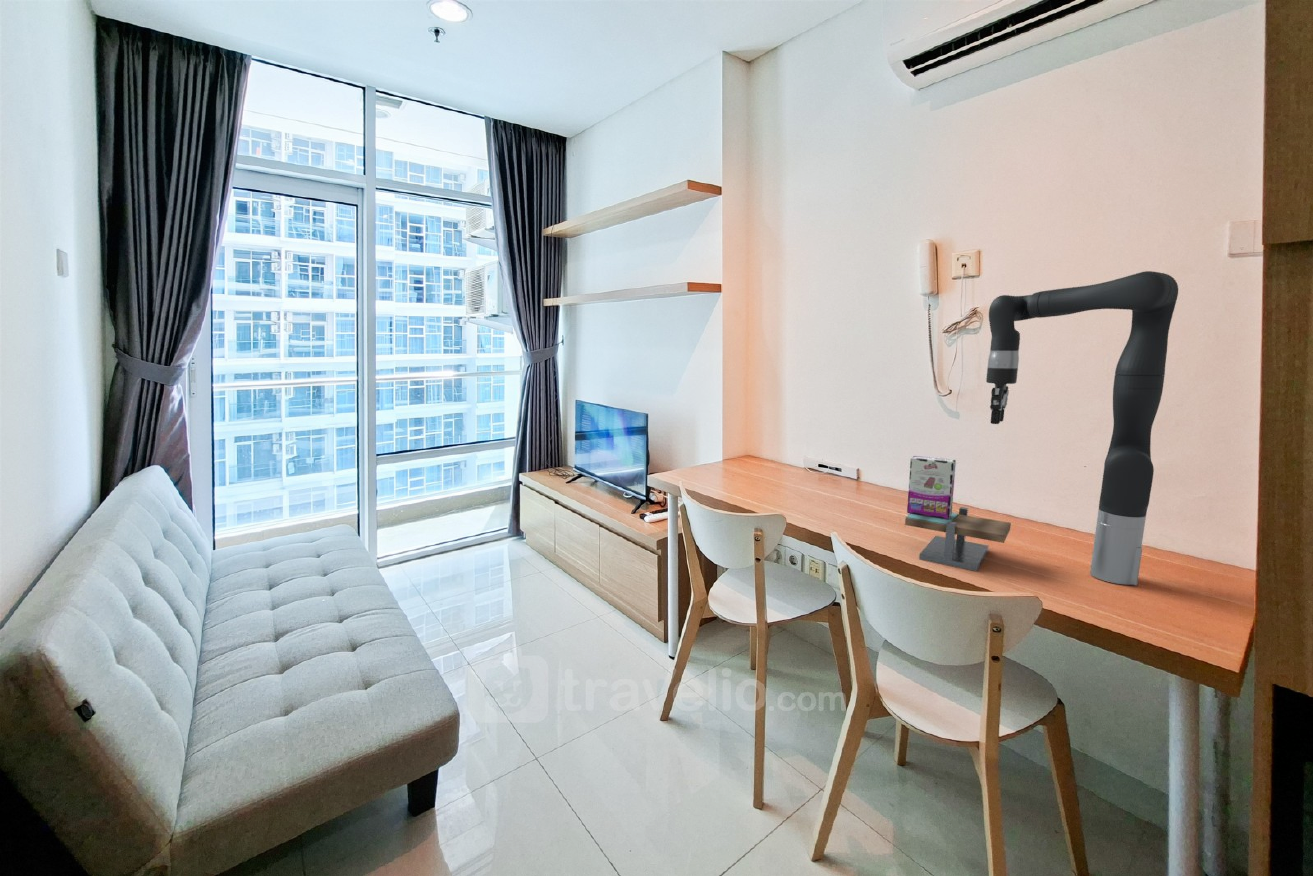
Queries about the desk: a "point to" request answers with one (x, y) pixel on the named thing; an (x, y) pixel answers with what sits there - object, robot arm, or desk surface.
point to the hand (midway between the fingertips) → (996, 422)
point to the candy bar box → (931, 486)
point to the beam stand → (954, 549)
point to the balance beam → (963, 526)
